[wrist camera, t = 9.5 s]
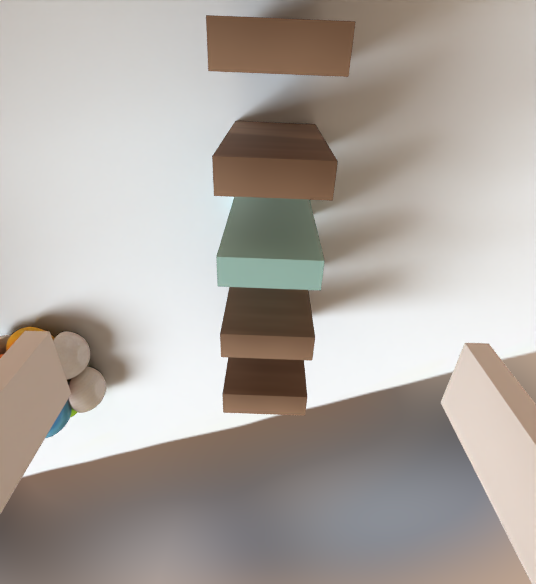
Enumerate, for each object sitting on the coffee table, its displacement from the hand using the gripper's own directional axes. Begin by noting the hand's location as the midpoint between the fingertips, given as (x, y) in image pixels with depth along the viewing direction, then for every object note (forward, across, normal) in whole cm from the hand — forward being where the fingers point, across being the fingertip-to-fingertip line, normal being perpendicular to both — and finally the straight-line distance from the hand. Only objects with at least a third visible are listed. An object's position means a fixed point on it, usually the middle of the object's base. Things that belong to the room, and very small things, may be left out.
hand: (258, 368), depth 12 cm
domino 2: (+16, +1, +4) cm, 17 cm away
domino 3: (+16, +1, -4) cm, 17 cm away
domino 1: (+16, +1, +9) cm, 19 cm away
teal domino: (+16, +1, 0) cm, 16 cm away
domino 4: (+16, +1, -9) cm, 19 cm away
